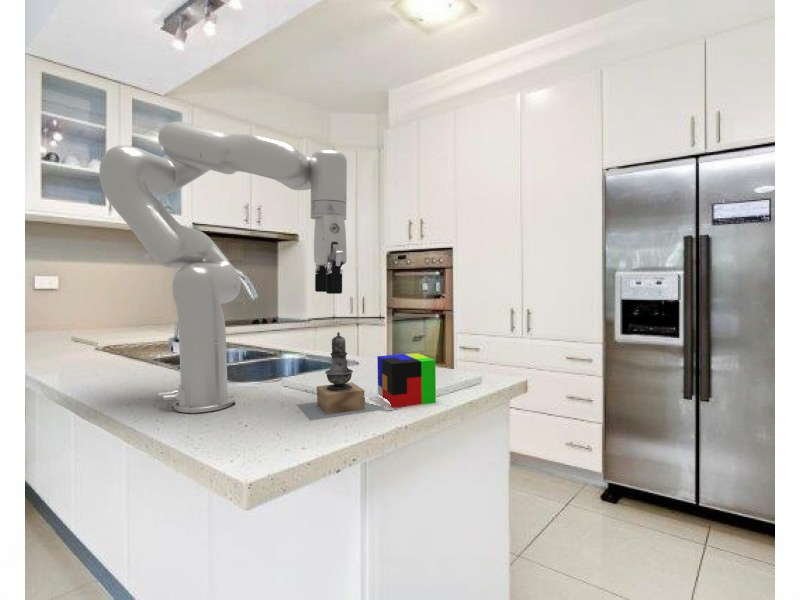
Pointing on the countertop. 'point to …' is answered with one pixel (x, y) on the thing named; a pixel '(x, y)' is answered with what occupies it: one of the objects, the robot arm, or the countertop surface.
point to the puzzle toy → (407, 379)
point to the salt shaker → (339, 366)
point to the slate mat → (317, 413)
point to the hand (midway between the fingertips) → (328, 292)
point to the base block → (340, 399)
